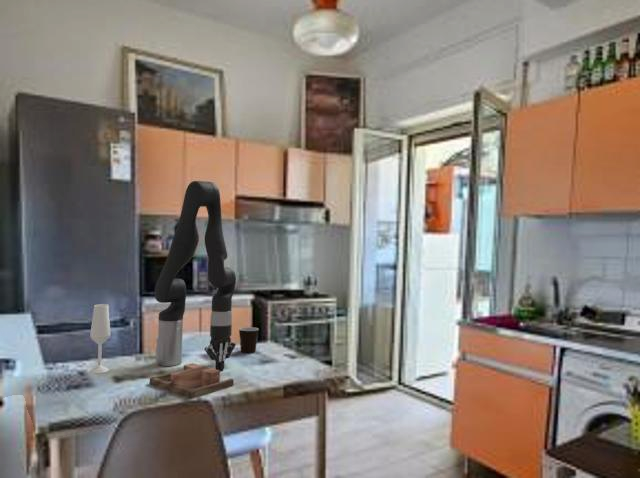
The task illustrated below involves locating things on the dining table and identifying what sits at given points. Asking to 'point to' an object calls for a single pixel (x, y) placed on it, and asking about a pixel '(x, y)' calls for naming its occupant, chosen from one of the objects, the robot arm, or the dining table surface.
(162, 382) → the frame
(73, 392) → the dining table surface
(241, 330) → the coffee mug
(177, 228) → the robot arm
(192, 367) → the t block
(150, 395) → the dining table surface
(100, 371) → the champagne flute
